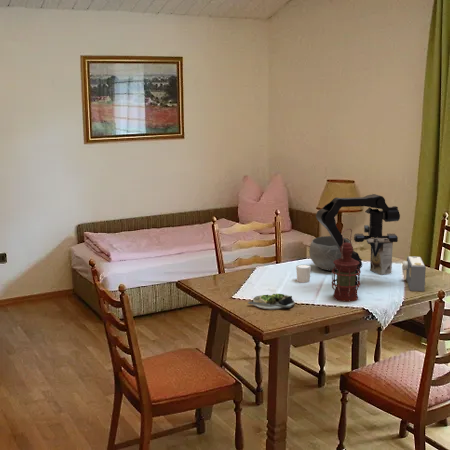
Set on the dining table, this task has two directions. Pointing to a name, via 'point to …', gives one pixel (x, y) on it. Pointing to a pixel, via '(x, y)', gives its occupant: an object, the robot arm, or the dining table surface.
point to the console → (416, 274)
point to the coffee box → (382, 258)
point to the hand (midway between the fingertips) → (375, 256)
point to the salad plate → (273, 301)
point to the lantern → (346, 274)
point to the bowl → (324, 252)
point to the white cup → (303, 273)
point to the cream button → (405, 265)
